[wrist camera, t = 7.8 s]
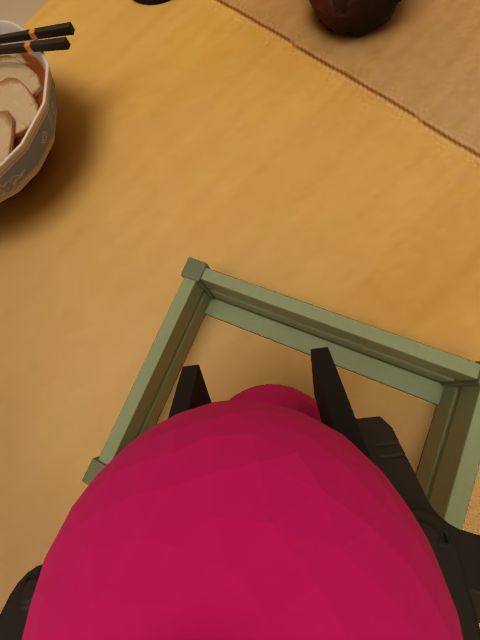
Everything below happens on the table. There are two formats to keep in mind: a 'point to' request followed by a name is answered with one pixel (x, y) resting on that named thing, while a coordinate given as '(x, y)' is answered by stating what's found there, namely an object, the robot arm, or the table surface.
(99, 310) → the table surface
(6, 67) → the ramen bowl
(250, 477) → the pepper mill
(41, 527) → the table surface
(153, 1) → the wine glass
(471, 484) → the crate
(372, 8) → the coffee grinder
